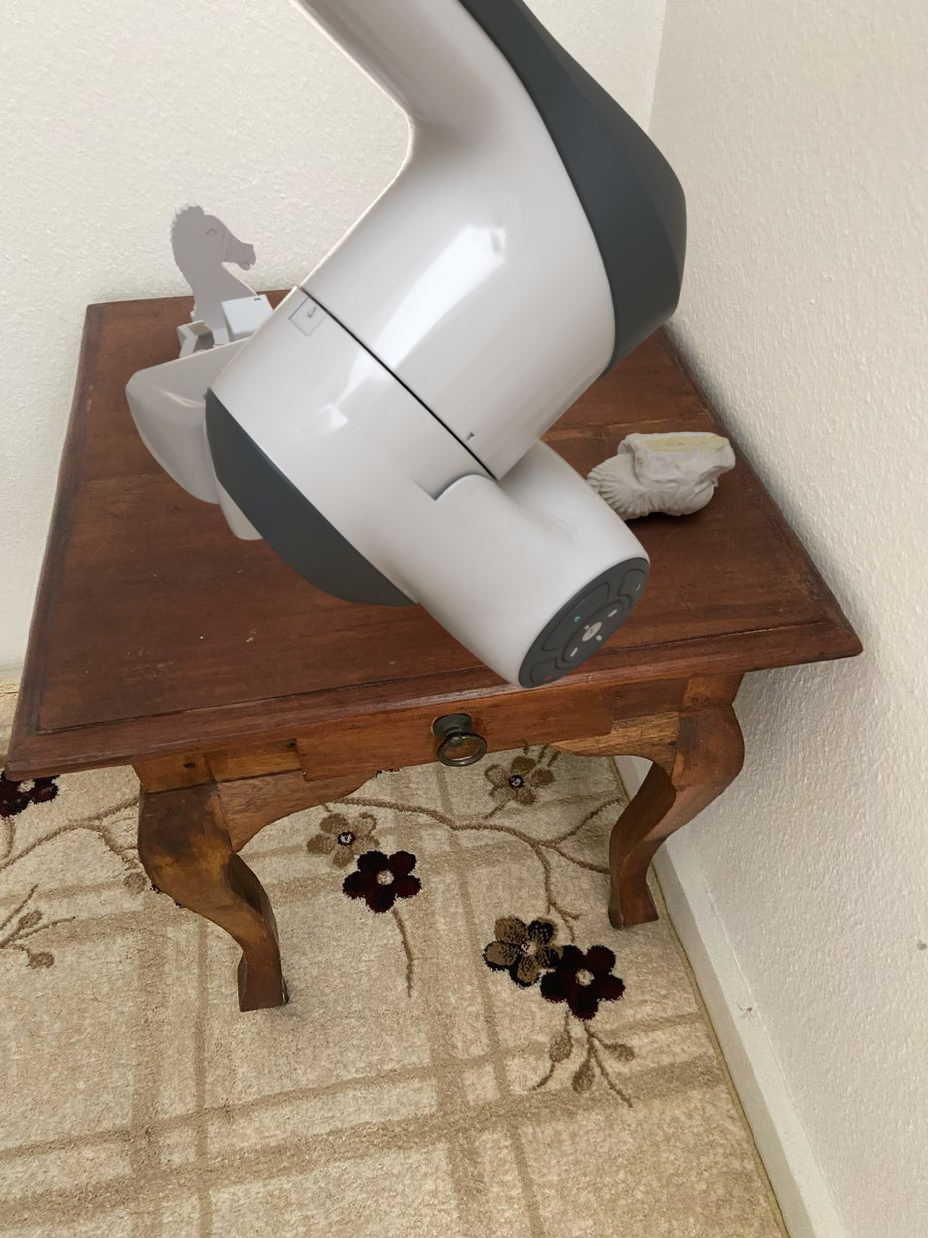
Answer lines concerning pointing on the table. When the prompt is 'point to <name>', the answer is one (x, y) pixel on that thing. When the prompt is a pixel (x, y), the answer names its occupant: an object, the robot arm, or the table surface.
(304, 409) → the robot arm
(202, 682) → the table surface
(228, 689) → the table surface
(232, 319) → the cosmetic box
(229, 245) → the chess piece
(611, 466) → the fossil replica
